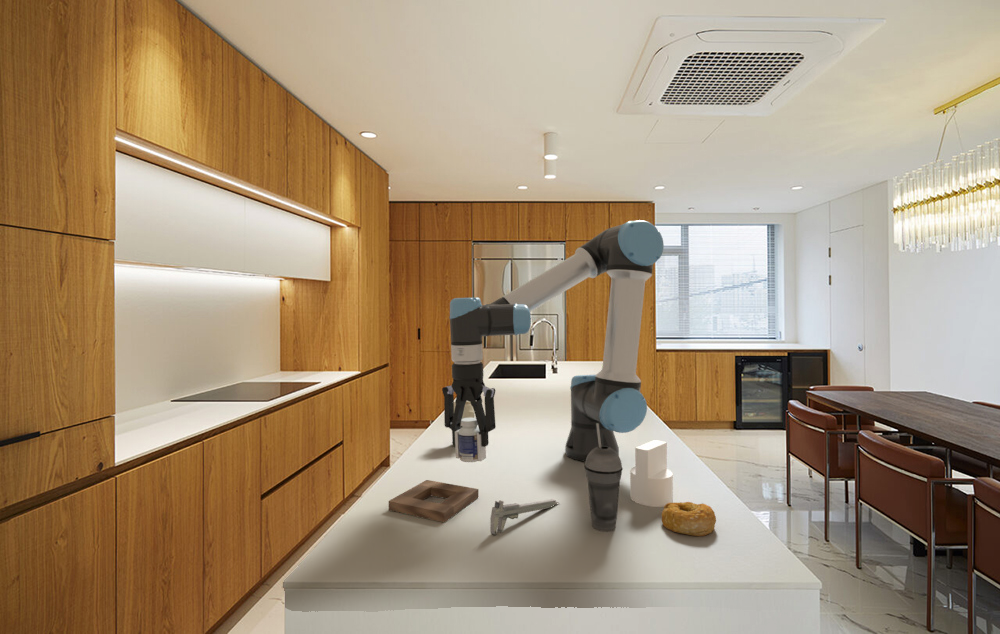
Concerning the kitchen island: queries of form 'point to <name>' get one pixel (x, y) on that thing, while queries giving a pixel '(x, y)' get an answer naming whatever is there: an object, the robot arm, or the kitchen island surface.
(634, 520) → the kitchen island surface
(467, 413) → the character mug
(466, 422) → the pill bottle
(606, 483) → the beverage cup
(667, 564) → the kitchen island surface
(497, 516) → the caliper
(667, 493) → the cylinder with rectangular tab
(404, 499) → the holder block
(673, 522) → the bagel
